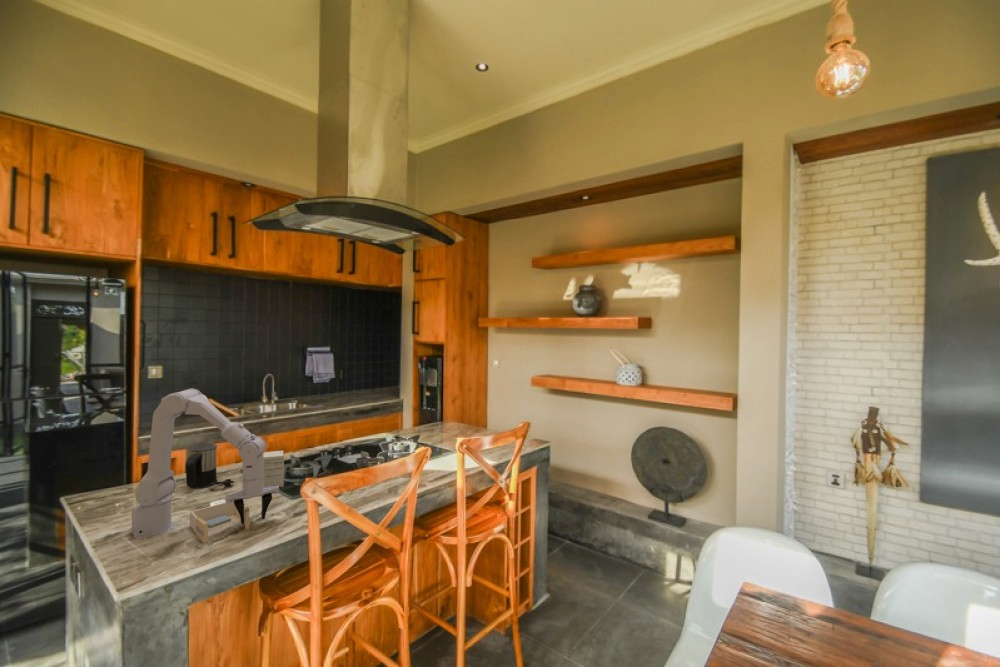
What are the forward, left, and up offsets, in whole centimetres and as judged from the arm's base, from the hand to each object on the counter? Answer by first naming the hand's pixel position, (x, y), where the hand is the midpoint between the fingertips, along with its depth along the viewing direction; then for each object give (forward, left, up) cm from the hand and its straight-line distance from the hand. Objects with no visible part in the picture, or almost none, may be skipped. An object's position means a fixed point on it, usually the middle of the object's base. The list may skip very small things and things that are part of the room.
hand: (253, 520), depth 138 cm
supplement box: (+18, +32, -2) cm, 37 cm away
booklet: (-7, +10, -2) cm, 12 cm away
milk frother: (+2, +48, -2) cm, 48 cm away
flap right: (-1, +2, -2) cm, 3 cm away
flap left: (-13, +2, -2) cm, 14 cm away
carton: (-7, +10, -2) cm, 12 cm away
